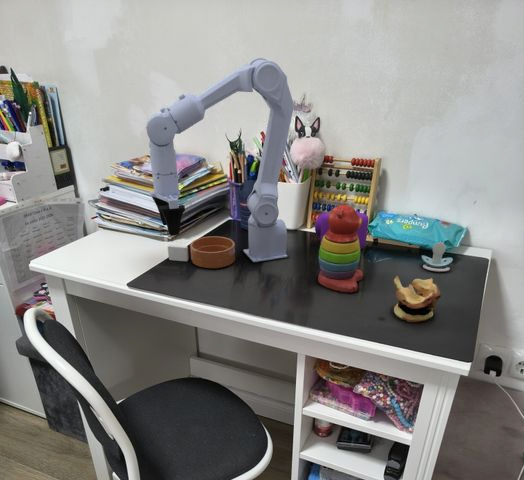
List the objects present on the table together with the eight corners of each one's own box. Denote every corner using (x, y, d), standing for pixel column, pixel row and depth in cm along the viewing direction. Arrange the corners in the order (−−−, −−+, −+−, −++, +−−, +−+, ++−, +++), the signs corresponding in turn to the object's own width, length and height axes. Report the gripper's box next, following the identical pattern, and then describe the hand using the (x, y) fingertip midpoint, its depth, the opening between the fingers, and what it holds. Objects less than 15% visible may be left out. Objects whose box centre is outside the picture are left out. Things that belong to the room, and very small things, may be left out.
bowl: (227, 250, 132) (226, 234, 130) (241, 266, 124) (240, 249, 121) (187, 256, 129) (185, 239, 126) (198, 272, 120) (196, 255, 118)
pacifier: (451, 275, 120) (450, 264, 125) (457, 250, 116) (455, 240, 121) (420, 272, 121) (419, 261, 126) (425, 248, 117) (424, 238, 122)
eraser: (170, 258, 128) (169, 244, 126) (188, 259, 127) (187, 246, 125) (169, 259, 127) (167, 246, 125) (187, 261, 126) (186, 247, 124)
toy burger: (429, 331, 97) (438, 293, 93) (381, 320, 101) (386, 283, 97) (441, 305, 106) (449, 270, 102) (396, 296, 110) (401, 261, 105)
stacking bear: (355, 294, 111) (364, 216, 101) (311, 287, 114) (316, 210, 104) (364, 275, 119) (373, 201, 109) (323, 269, 122) (328, 196, 112)
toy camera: (325, 235, 141) (328, 200, 136) (369, 246, 135) (374, 209, 129) (305, 247, 134) (307, 210, 128) (350, 259, 127) (355, 221, 122)
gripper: (141, 166, 118) (148, 222, 125) (153, 181, 107) (160, 242, 114) (170, 163, 120) (176, 218, 128) (185, 178, 109) (190, 237, 116)
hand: (170, 229), depth 121 cm, fingers open, 7 cm apart
